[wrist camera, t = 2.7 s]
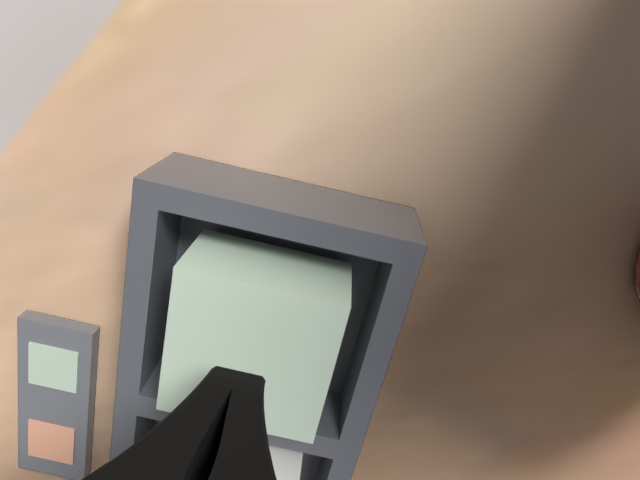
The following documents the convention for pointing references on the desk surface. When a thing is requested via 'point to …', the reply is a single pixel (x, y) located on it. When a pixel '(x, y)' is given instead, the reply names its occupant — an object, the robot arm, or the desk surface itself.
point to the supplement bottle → (637, 276)
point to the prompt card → (56, 394)
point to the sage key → (257, 325)
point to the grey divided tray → (281, 230)
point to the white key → (286, 463)
